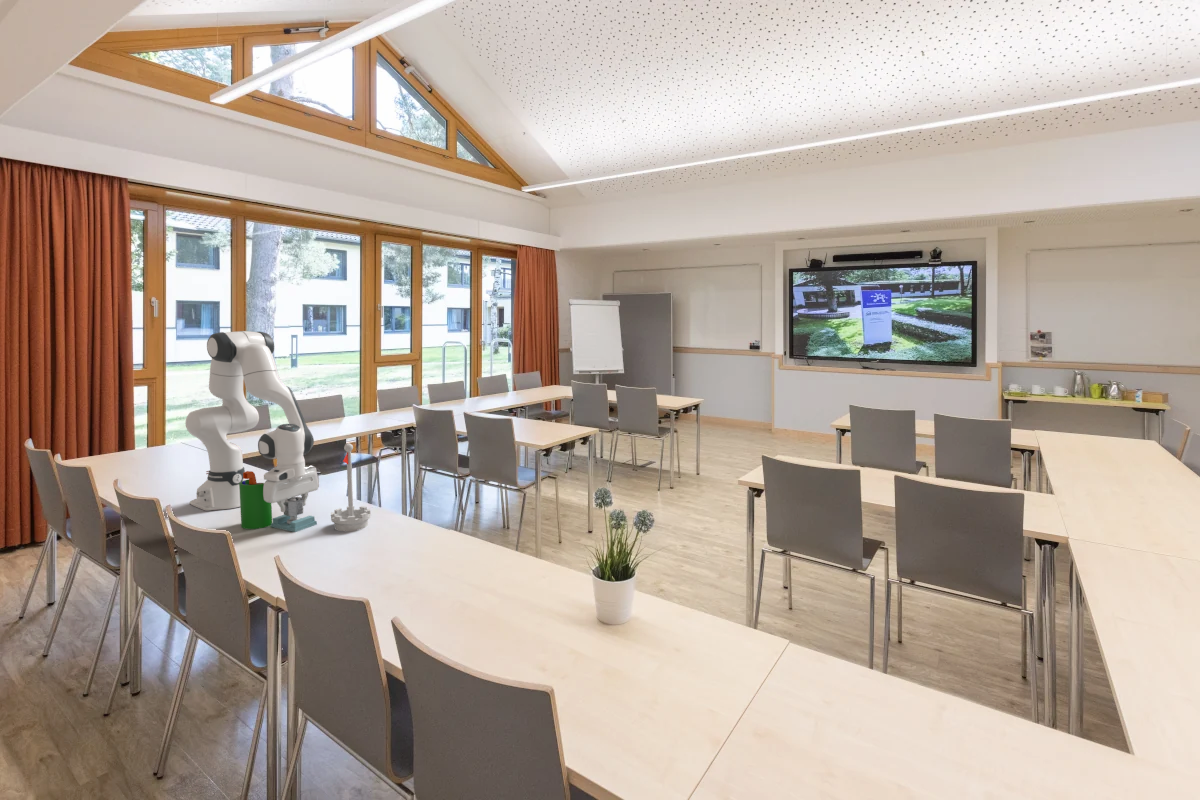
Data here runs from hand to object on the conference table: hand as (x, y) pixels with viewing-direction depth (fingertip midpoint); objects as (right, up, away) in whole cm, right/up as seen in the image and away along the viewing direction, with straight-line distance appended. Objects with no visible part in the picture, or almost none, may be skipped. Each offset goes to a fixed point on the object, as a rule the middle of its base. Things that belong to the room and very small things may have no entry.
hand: (293, 508), depth 219 cm
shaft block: (0, -6, +1) cm, 6 cm away
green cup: (-13, -6, +1) cm, 15 cm away
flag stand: (+20, -7, +2) cm, 21 cm away
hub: (0, -2, 0) cm, 2 cm away
